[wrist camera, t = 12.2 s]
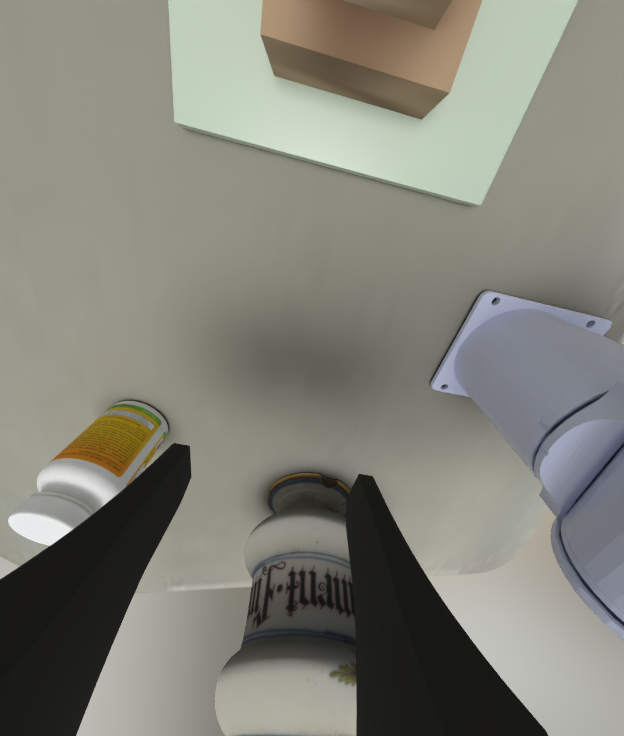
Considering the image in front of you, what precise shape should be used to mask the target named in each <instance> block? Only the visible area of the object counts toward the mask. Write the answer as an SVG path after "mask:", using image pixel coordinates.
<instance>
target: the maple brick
mask: <svg viewBox="0 0 624 736" xmlns="http://www.w3.org/2000/svg"><path fill="white" fill-rule="evenodd" d="M345 1H348V2H351V3H354V4H357V5H360V6H363V7H366V8H369V9H372V10H375V11H378V12H381V13H384V14H387V15H390V16H393V17H396V18H399V19H402V20H405V21H408V22H411V23H414V24H417V25H420V26H423V27H426V28H429V29H432V30H435V28H436V26H437V25H438V23H439V21H440V20H441V18H442V16H443V15H444V13H445V12H446V10H447V8H448V7H449V5H450V3H451V2H452V0H345Z"/></svg>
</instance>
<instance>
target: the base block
mask: <svg viewBox="0 0 624 736" xmlns="http://www.w3.org/2000/svg"><path fill="white" fill-rule="evenodd" d="M481 3H482V0H452V2H451V3H450V5H449V7H448V8H447V10H446V12H445V13H444V15H443V16H442V18H441V20H440V21H439V23H438V25H437V26H436V28H435V30H432V29H429V28H426V27H423V26H420V25H417V24H414V23H411V22H408V21H405V20H402V19H399V18H396V17H393V16H390V15H387V14H384V13H381V12H378V11H375V10H372V9H369V8H366V7H363V6H360V5H357V4H354V3H351V2H348V1H345V0H263V4H262V17H261V31H260V35H261V38H262V41H263V44H264V47H265V50H266V53H267V56H268V59H269V62H270V65H271V68H272V71H273V74H274V76H277V77H280V78H283V79H287V80H290V81H293V82H297V83H300V84H304V85H307V86H310V87H314V88H317V89H320V90H324V91H327V92H331V93H334V94H337V95H341V96H344V97H347V98H351V99H354V100H357V101H361V102H364V103H368V104H371V105H374V106H378V107H381V108H384V109H388V110H391V111H394V112H398V113H401V114H405V115H408V116H411V117H415V118H418V119H421V120H422V119H423V118H424V117H425V116H426V115H427V114H428V113H429V112H430V111H431V110H432V109H433V108H435V107H436V106H437V105H438V104H439V103H440V102H441V101H442V100H443V99H444V98H445V97H446V96H447V95H448V94H449V93H450V91H451V88H452V85H453V82H454V80H455V77H456V74H457V71H458V68H459V65H460V62H461V60H462V57H463V54H464V51H465V48H466V45H467V43H468V40H469V37H470V34H471V31H472V28H473V26H474V23H475V20H476V17H477V14H478V11H479V9H480V6H481Z"/></svg>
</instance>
